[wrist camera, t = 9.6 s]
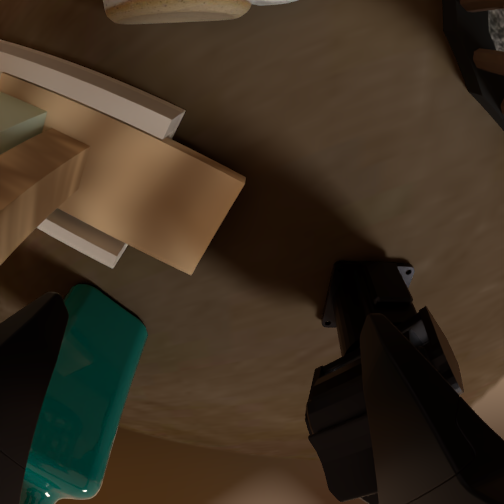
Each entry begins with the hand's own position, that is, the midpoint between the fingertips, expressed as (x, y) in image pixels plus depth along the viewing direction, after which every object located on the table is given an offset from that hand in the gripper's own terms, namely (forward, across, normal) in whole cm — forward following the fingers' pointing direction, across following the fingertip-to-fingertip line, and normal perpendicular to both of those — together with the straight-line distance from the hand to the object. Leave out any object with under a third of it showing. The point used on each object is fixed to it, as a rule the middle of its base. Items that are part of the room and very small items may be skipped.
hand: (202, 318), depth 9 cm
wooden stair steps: (+12, +10, 0) cm, 15 cm away
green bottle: (+13, +14, +15) cm, 24 cm away
